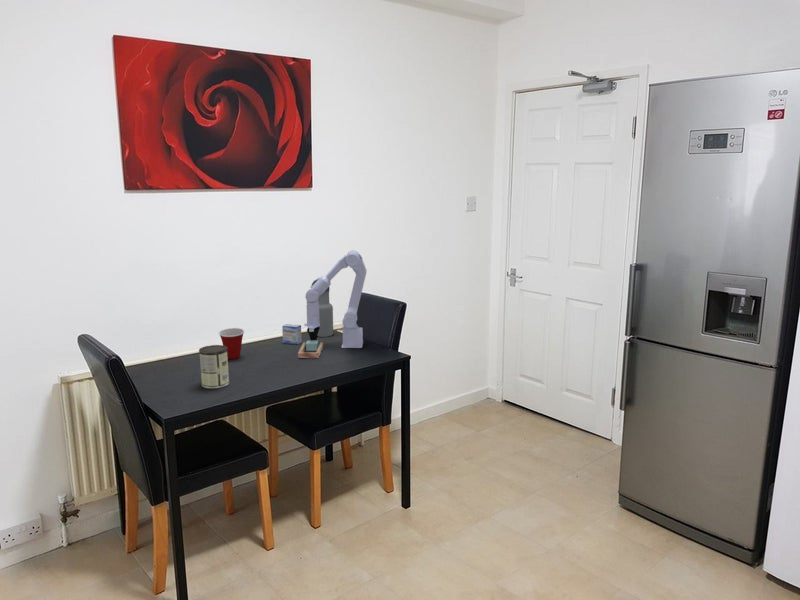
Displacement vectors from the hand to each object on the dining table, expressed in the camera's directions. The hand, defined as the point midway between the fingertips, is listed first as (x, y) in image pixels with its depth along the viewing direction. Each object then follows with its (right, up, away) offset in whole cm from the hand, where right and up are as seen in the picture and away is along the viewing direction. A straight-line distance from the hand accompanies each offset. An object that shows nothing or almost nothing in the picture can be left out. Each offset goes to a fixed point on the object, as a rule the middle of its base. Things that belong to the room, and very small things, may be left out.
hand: (313, 343), depth 290 cm
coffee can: (-30, -12, -52) cm, 61 cm away
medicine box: (-11, -1, +6) cm, 13 cm away
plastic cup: (-33, -5, -18) cm, 38 cm away
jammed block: (0, -3, -6) cm, 6 cm away
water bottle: (+2, +3, +21) cm, 21 cm away
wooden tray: (0, -3, -10) cm, 11 cm away
